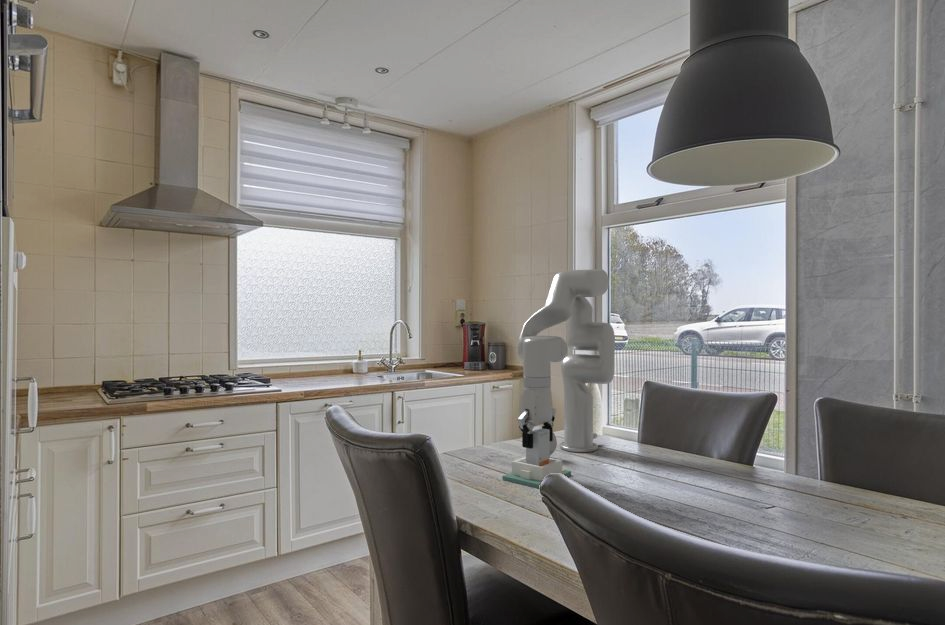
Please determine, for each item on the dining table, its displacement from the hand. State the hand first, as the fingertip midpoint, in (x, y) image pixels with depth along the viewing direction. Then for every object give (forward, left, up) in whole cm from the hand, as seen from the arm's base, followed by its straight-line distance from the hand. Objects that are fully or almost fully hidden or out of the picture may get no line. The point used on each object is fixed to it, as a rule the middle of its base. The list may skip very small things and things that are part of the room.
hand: (537, 444), depth 152 cm
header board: (+1, 0, -9) cm, 9 cm away
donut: (-18, -11, -9) cm, 23 cm away
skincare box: (0, 0, -8) cm, 8 cm away
